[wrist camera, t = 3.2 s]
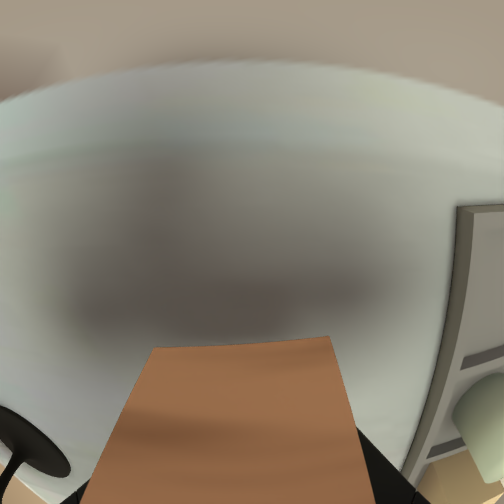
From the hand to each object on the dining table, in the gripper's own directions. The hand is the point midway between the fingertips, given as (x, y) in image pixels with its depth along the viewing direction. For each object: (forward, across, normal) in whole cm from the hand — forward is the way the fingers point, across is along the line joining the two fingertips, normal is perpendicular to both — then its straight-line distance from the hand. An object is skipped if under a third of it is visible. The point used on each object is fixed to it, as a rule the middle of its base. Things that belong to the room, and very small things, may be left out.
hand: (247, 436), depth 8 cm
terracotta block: (+1, 0, 0) cm, 1 cm away
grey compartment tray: (+7, -15, +9) cm, 19 cm away
